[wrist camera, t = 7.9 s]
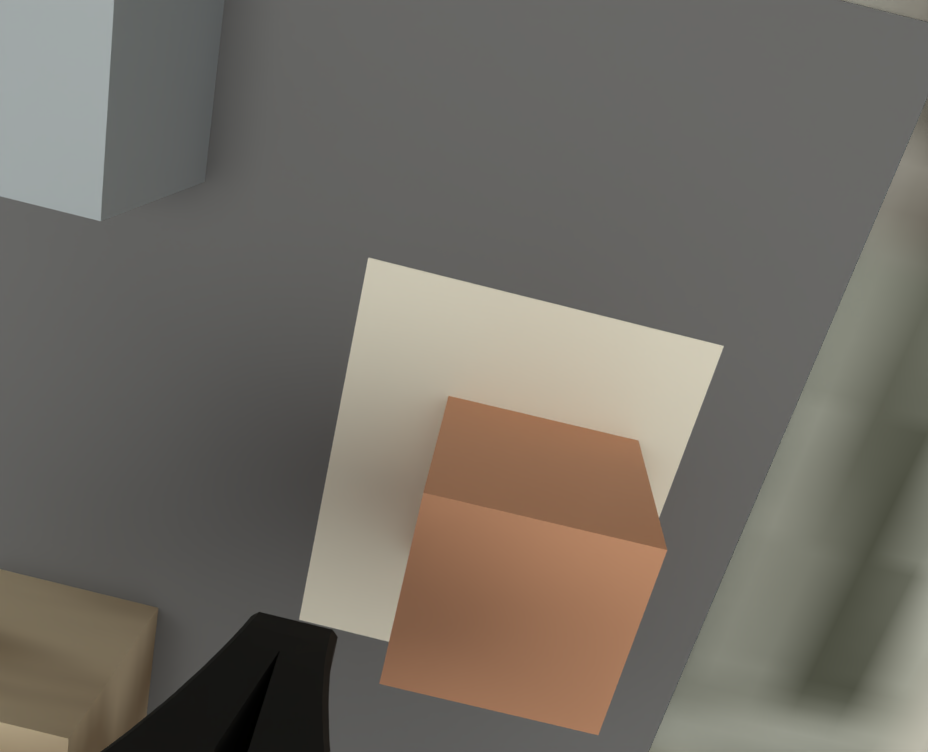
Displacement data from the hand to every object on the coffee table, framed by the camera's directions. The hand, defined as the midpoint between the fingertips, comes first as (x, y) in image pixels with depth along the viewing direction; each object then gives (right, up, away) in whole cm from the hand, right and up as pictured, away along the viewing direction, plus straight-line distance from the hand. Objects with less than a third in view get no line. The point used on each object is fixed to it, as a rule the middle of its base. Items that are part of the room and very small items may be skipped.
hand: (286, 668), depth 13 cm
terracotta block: (+4, +2, +6) cm, 8 cm away
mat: (-1, +3, +7) cm, 8 cm away
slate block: (-4, +11, +3) cm, 13 cm away
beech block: (-8, -3, +9) cm, 13 cm away
